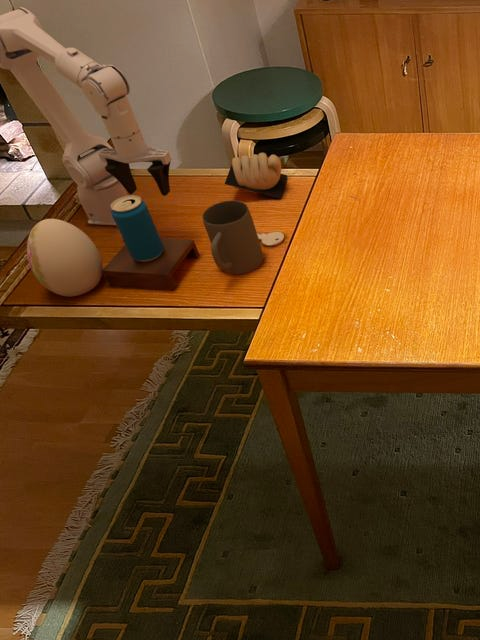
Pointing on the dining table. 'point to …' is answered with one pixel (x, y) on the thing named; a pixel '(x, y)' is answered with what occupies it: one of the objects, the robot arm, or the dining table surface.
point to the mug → (233, 237)
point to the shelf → (150, 266)
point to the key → (271, 238)
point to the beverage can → (137, 228)
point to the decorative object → (257, 175)
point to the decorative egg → (63, 258)
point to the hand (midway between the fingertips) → (149, 192)
